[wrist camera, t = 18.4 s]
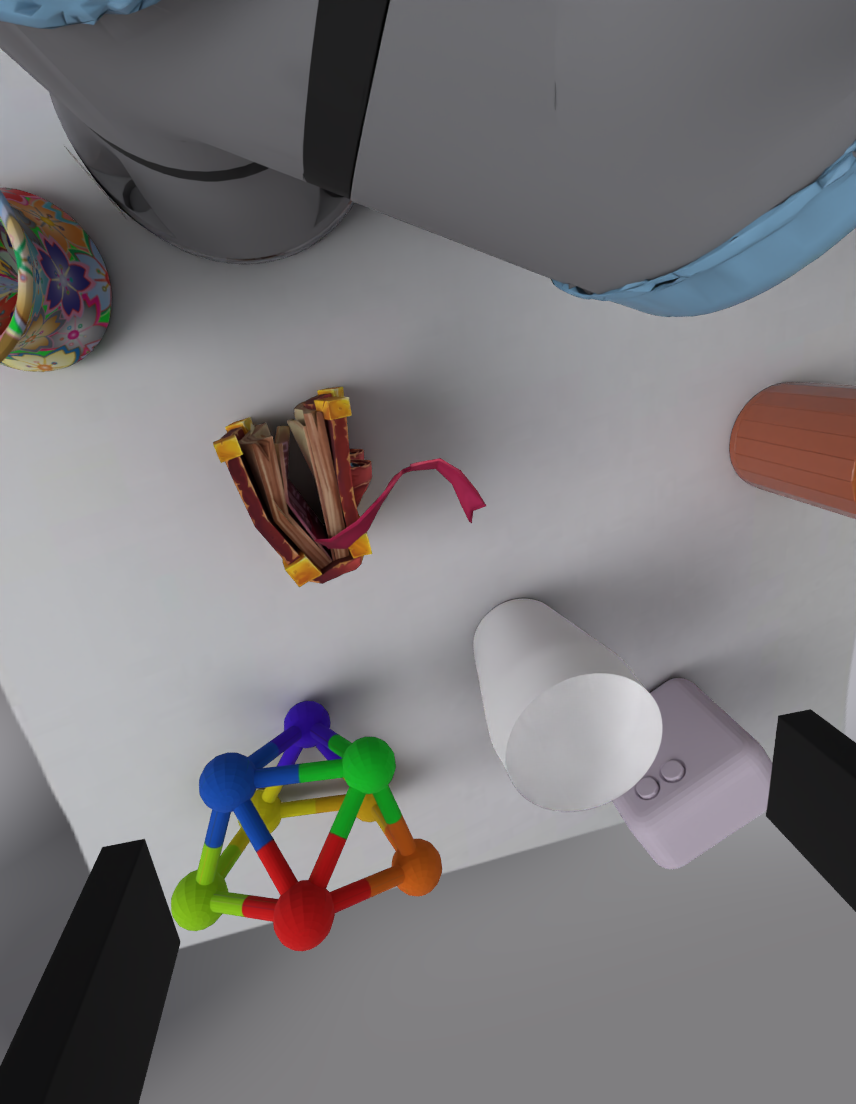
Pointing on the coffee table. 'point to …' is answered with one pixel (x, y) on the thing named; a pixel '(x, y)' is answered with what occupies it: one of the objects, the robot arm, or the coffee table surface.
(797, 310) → the coffee table surface
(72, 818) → the coffee table surface
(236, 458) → the book monster
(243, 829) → the educational toy
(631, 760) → the cup
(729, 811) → the electronic device
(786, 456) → the terracotta cup
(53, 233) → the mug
